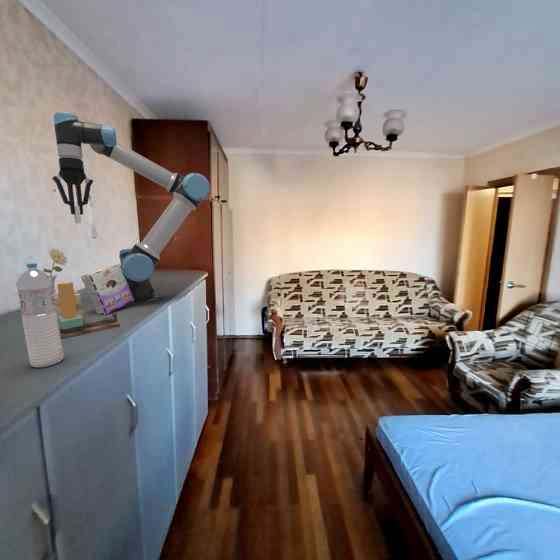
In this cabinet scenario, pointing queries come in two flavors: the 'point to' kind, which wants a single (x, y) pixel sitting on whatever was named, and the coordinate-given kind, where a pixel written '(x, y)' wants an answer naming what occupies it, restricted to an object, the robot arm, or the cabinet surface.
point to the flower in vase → (59, 259)
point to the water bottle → (39, 317)
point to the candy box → (107, 289)
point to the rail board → (88, 330)
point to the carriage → (68, 306)
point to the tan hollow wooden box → (77, 300)
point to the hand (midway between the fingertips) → (78, 223)
